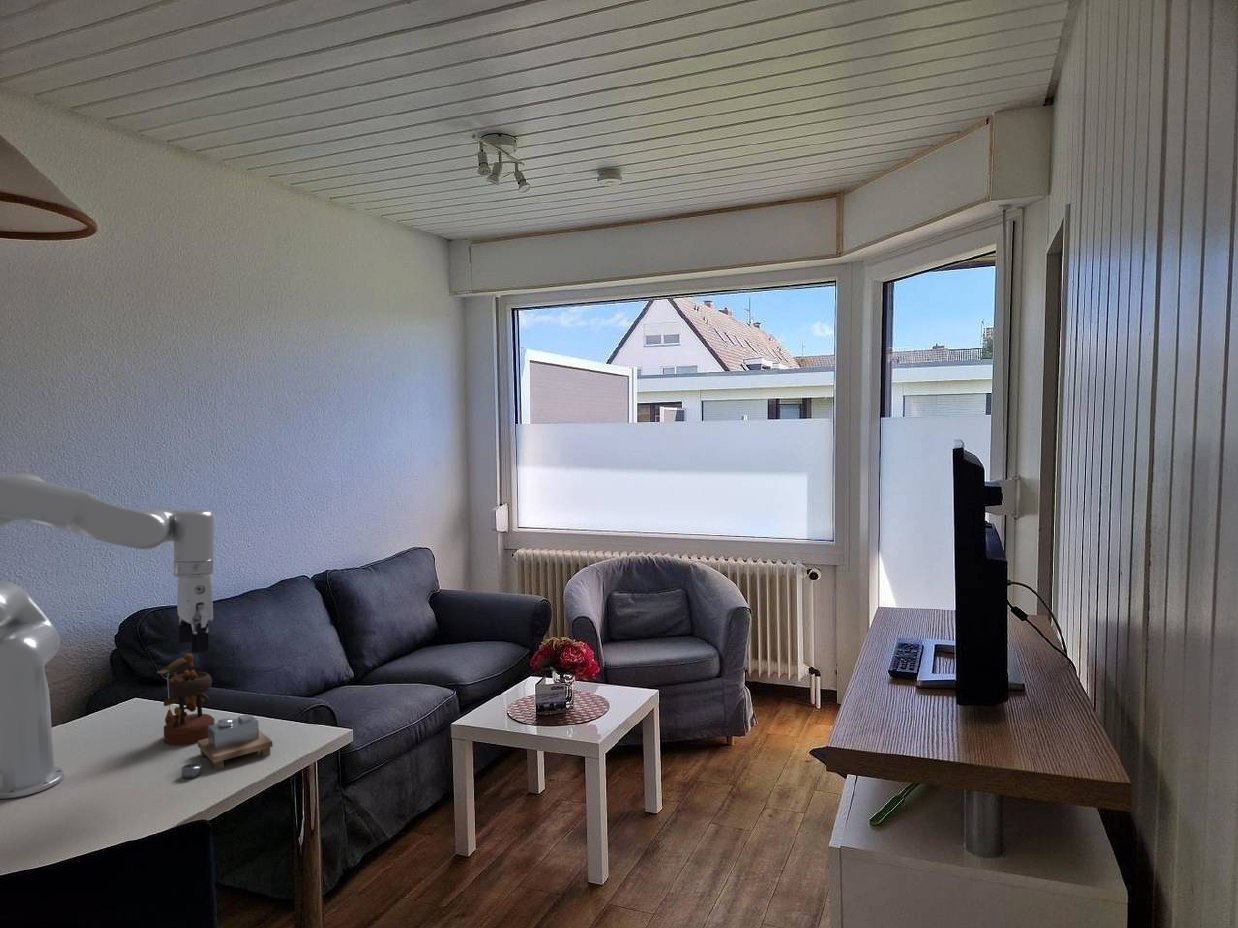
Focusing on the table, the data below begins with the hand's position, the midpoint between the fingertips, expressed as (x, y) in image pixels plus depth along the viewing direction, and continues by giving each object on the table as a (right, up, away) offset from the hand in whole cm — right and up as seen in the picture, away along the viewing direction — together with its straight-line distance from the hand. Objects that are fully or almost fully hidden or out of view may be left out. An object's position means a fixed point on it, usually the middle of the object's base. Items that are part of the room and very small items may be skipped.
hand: (193, 646), depth 173 cm
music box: (-9, -25, +16) cm, 31 cm away
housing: (+7, -22, +4) cm, 23 cm away
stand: (+7, -25, +5) cm, 26 cm away
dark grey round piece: (+3, -26, -6) cm, 26 cm away
